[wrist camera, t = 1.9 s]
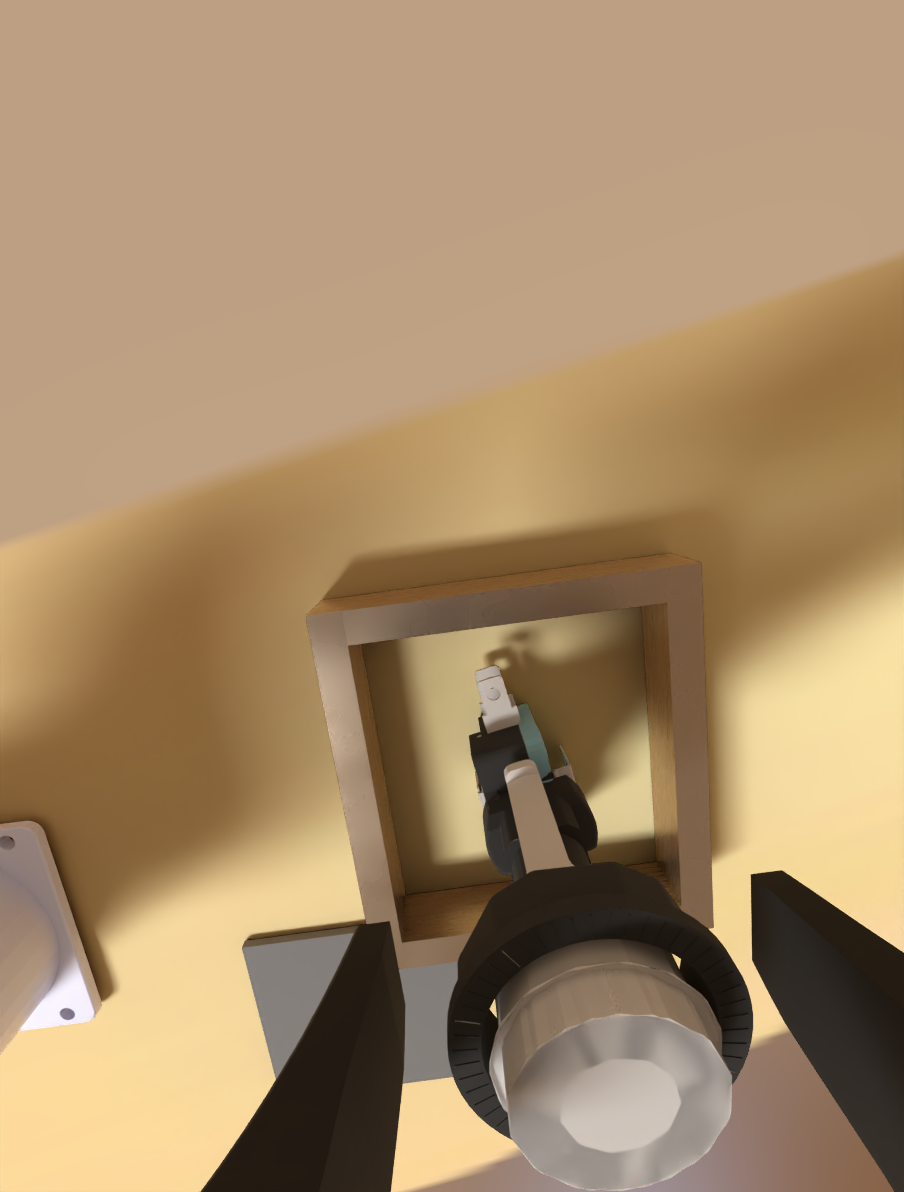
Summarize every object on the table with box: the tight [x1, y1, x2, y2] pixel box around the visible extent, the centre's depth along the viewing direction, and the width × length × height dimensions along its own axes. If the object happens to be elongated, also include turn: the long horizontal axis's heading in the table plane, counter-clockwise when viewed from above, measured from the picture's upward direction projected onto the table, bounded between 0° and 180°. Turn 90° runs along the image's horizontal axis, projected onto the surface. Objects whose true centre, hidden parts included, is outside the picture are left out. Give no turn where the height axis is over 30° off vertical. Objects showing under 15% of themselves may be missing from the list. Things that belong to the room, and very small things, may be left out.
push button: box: [447, 665, 753, 1191], centre depth 13 cm, size 7×5×10 cm
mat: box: [242, 926, 458, 1083], centre depth 20 cm, size 8×7×1 cm
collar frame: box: [306, 553, 714, 969], centre depth 17 cm, size 11×12×2 cm
